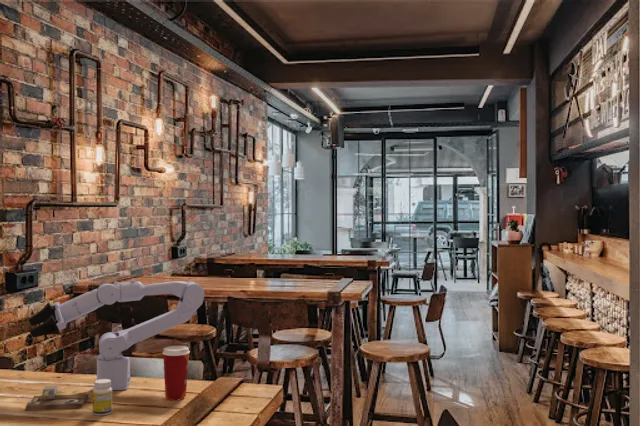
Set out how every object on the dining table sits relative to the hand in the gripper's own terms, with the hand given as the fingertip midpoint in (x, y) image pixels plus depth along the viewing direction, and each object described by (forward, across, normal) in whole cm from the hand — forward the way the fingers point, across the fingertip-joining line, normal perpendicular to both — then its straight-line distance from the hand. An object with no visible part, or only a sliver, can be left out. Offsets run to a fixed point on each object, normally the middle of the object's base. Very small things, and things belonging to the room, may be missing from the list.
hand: (30, 328), depth 177 cm
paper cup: (-28, +26, +27) cm, 46 cm away
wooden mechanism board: (0, +18, +16) cm, 24 cm away
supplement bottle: (-10, +31, +16) cm, 36 cm away
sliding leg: (+2, +18, +13) cm, 22 cm away
